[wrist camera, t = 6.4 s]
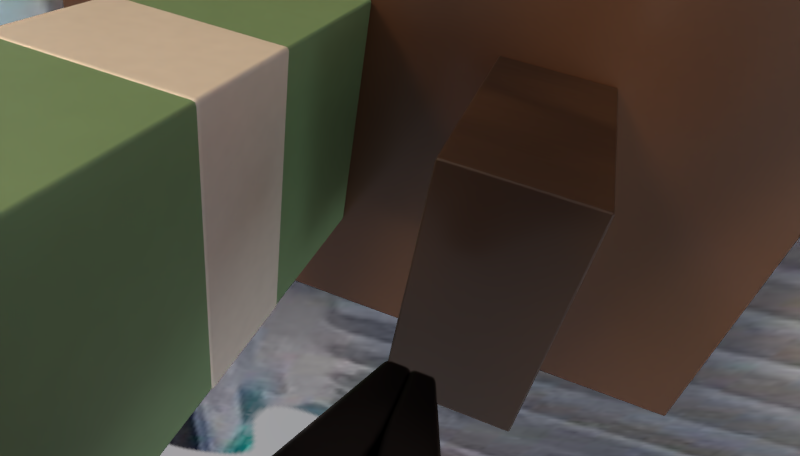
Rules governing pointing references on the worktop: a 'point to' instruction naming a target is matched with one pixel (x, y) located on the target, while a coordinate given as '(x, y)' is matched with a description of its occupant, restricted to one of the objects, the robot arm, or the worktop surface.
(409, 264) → the walnut board
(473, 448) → the worktop surface
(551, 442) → the worktop surface
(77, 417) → the block
